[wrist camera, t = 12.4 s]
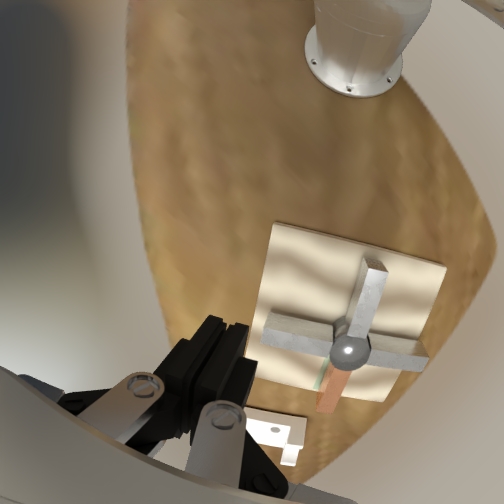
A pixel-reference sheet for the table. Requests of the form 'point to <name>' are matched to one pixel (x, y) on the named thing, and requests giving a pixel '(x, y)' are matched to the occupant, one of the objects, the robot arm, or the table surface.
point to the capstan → (347, 338)
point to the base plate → (336, 303)
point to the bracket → (277, 432)
